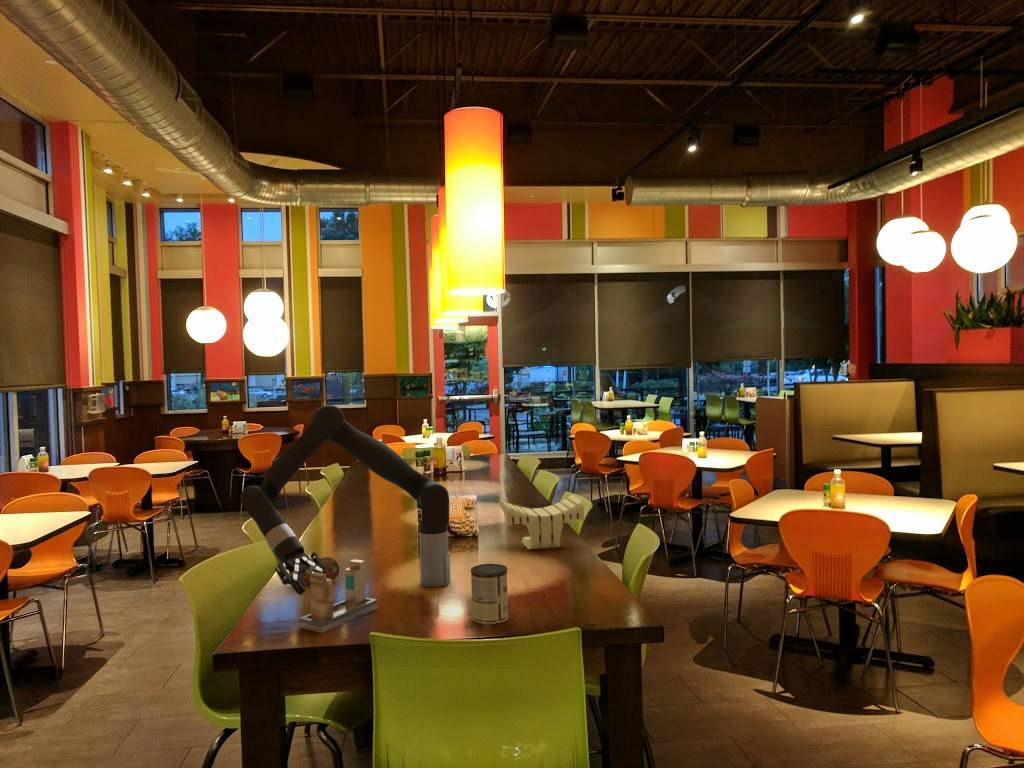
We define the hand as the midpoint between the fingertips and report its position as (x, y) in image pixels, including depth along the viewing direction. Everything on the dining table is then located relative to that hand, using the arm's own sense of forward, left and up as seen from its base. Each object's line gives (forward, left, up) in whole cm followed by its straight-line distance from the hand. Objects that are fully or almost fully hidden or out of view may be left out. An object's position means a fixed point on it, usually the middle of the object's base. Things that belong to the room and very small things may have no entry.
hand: (314, 589), depth 204 cm
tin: (+14, -38, -10) cm, 41 cm away
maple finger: (-2, +1, -8) cm, 9 cm away
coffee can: (-48, -6, -10) cm, 50 cm away
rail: (-5, -5, -10) cm, 12 cm away
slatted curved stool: (-59, -88, -10) cm, 106 cm away
